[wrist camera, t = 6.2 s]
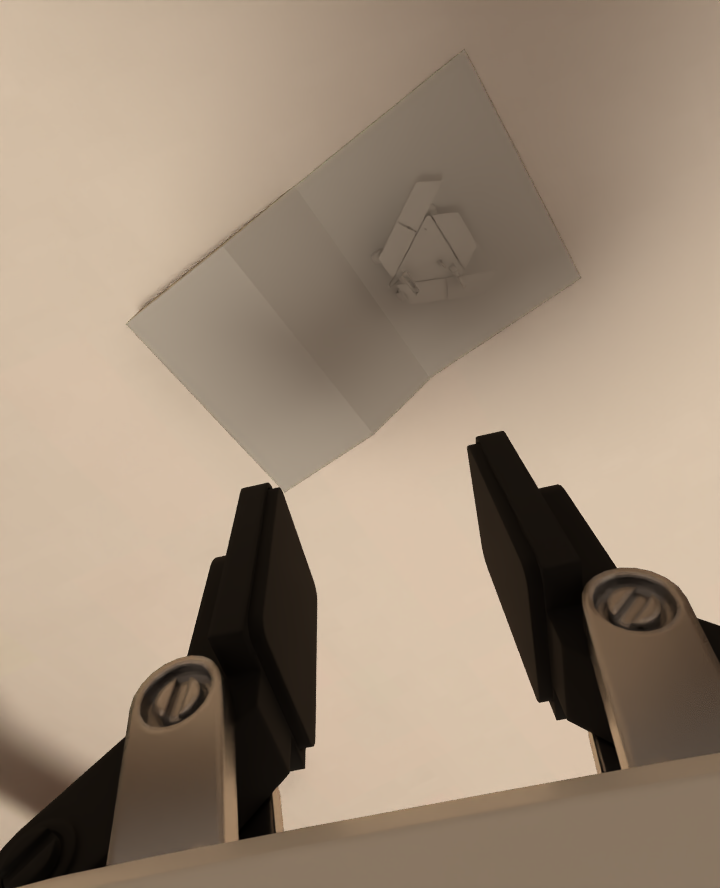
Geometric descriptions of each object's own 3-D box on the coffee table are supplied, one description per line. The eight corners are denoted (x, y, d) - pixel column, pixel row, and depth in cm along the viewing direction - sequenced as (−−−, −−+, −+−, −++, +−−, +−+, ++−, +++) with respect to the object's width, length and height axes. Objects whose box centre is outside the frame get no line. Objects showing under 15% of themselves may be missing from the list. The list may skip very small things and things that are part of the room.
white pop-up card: (138, 312, 18) (111, 336, 16) (464, 48, 15) (487, 33, 13) (286, 473, 21) (282, 512, 19) (581, 278, 18) (616, 297, 16)
